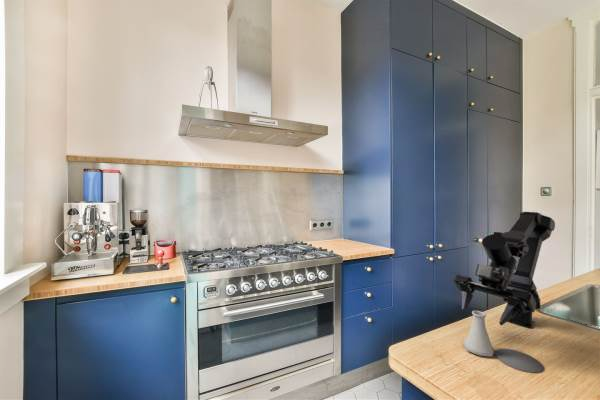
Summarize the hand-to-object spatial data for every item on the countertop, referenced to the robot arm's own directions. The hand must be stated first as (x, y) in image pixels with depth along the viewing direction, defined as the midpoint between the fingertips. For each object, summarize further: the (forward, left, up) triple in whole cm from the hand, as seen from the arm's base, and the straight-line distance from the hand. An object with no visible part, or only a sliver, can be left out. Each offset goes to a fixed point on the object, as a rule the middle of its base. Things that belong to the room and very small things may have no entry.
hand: (480, 317), depth 73 cm
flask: (+1, 0, -9) cm, 9 cm away
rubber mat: (-2, +8, -9) cm, 12 cm away
